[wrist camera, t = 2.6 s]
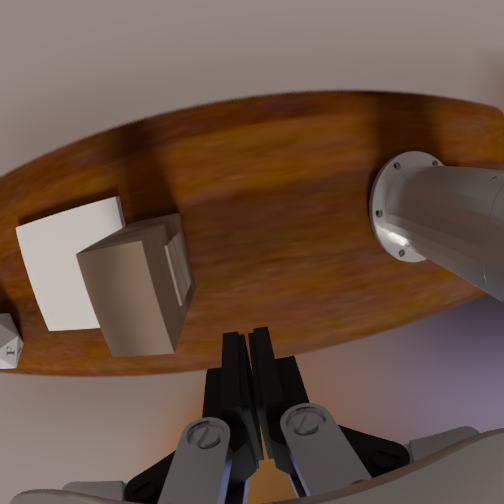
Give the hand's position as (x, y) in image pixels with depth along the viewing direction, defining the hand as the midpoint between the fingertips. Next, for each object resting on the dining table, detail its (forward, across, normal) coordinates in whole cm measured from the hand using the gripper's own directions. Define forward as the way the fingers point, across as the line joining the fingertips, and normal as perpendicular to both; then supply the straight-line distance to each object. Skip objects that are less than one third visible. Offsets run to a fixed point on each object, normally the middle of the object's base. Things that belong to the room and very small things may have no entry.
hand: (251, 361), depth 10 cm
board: (+19, +19, 0) cm, 27 cm away
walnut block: (+19, +8, 0) cm, 21 cm away
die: (+20, +37, +7) cm, 43 cm away
